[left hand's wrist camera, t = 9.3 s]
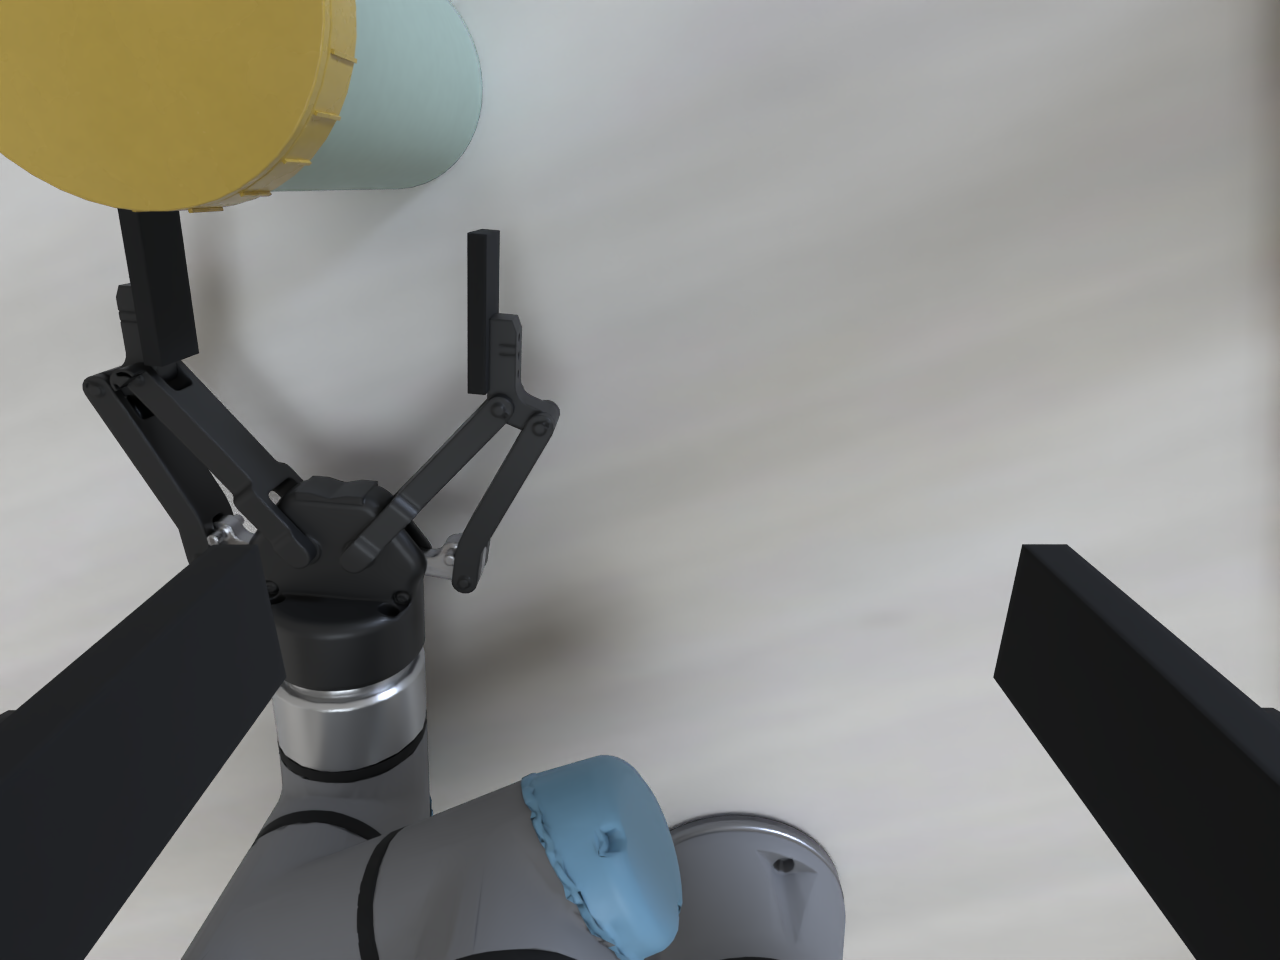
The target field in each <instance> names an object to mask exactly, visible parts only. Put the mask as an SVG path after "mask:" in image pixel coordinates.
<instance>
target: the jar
mask: <svg viewBox="0 0 1280 960" xmlns="http://www.w3.org/2000/svg"><path fill="white" fill-rule="evenodd" d="M355 2H356V31H357V38H356V48H355V58H356V59H357V64H356V63H354V66H353V71H352V75H351V80H350V84H349V88H348V93H347V95H346V98H345V101H344V103H343V106H342V109H341V111H340V114H339V116H340V117H341V119H340V121H338V120H337V121H336V123H335V124H334V126H333V128H332V130H331V132H330V134H329V135H328V137H327V139H326V141H325V142H324V143H323V145H322V146H321V147H320V149H319V150H318V151H317V153H316V154H315V155H314V157H313V158H312V159H311V160H310V161H311V163H312V164H311V165H310V166H304V167H303V168H302V169H301V170H300V171H299V172H298V173H297V174H296V175H295V176H293V177H292V178H290V179H289V180H288V181H286V182H285V183H283V184H282V185H280V186H279V187H278V188H276V189H274V190H272V191H319V190H368V189H403V188H410V187H415V186H418V185H421V184H425V183H427V182H429V181H431V180H433V179H435V178H437V177H438V176H440V175H441V174H443V173H444V172H446V171H447V170H448V169H449V168H450V167H451V166H452V165H453V164H455V163H456V161H457V160H458V159H459V158H460V156H461V155H462V154H463V153H464V151H465V149H466V148H467V146H468V145H469V143H470V141H471V139H472V136H473V134H474V132H475V130H476V126H477V123H478V120H479V116H480V110H481V104H482V76H481V69H480V64H479V58H478V55H477V52H476V48H475V45H474V42H473V40H472V38H471V35H470V33H469V31H468V28H467V27H466V25H465V23H464V21H463V20H462V18H461V16H460V15H459V13H458V12H457V11H456V9H455V8H454V7H453V5H452V4H451V3H450V1H449V0H355Z"/></svg>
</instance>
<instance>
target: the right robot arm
mask: <svg viewBox="0 0 1280 960" xmlns="http://www.w3.org/2000/svg"><path fill="white" fill-rule="evenodd" d="M118 213H119V219H120V225H121V231H122V237H123V243H124V249H125V254H126V260H127V266H128V272H129V278H130V283H128V284H123V285H119V286H118V291H117V295H116V300H117V305H118V310H119V317H120V320H121V328H122V333H123V339H124V345H125V350H126V359H125V362H124V364H123V365H122V366H119V367H116V368H113V369H110V370H107V371H104V372H102V373H99V374H96V375H93V376H90V377H88V378H86V379H85V380H84V382H83V391H84V393H85V395H86V396H87V398H88V399H89V401H90V402H91V404H92V405H93V406H94V408H95V409H96V411H97V412H98V414H99V415H100V417H101V418H102V419H103V421H104V422H105V424H106V425H107V427H108V428H109V430H110V431H111V432H112V434H113V435H114V437H115V438H116V440H117V441H118V442H119V444H120V445H121V447H122V448H123V450H124V451H125V453H126V454H127V455H128V457H129V458H130V460H131V461H132V463H133V464H134V465H135V467H136V468H137V470H138V471H139V473H140V474H141V476H142V477H143V478H144V480H145V481H146V483H147V484H148V486H149V487H150V489H151V490H152V491H153V493H154V494H155V496H156V497H157V499H158V500H159V501H160V503H161V504H162V506H163V507H164V509H165V510H166V512H167V513H168V514H169V516H170V517H171V519H172V520H173V522H174V523H175V524H176V526H177V527H178V529H179V532H180V536H181V539H182V543H183V546H184V549H185V553H186V556H187V560H188V562H189V564H190V563H192V562H193V561H194V560H195V559H196V558H198V557H199V556H200V555H201V554H202V553H203V552H205V551H206V550H207V549H208V548H209V547H211V546H212V545H213V544H258V548H259V553H260V558H261V562H262V567H263V571H264V576H265V580H266V585H267V590H268V594H269V599H270V603H271V608H272V613H273V617H274V622H275V626H276V631H277V635H278V640H279V645H280V649H281V654H282V658H283V663H284V668H285V672H286V679H285V680H284V682H283V683H282V684H281V686H280V687H279V689H278V690H277V691H276V693H275V694H274V696H273V697H272V703H273V710H274V716H275V723H276V730H277V737H278V746H279V754H280V764H281V774H282V784H283V786H282V792H281V796H280V799H279V801H278V803H277V805H276V806H275V808H274V809H273V811H272V813H271V814H270V816H269V818H268V819H267V821H266V823H265V824H264V826H263V827H262V829H261V831H260V833H259V834H258V836H257V838H256V839H255V842H254V843H253V845H252V846H251V848H250V849H249V851H248V852H247V854H246V856H245V857H244V859H243V860H242V862H241V864H240V865H239V867H238V868H237V870H236V872H235V873H234V875H233V876H232V878H231V880H230V881H229V883H228V885H227V886H226V888H225V889H224V891H223V893H222V894H221V896H220V897H219V899H218V901H217V902H216V904H215V905H214V907H213V909H212V910H211V912H210V913H209V915H208V917H207V918H206V920H205V922H204V923H203V925H202V926H201V928H200V930H199V931H198V933H197V934H196V936H195V938H194V939H193V941H192V942H191V944H190V946H189V947H188V949H187V951H186V952H185V954H184V955H183V957H182V959H181V960H842V959H843V946H844V933H845V906H844V897H843V892H842V889H841V885H840V881H839V878H838V874H837V871H836V868H835V866H834V864H833V862H832V860H831V859H830V857H829V856H828V854H827V853H826V852H825V850H824V849H823V848H822V847H821V846H820V845H819V844H818V843H816V842H815V841H814V840H813V839H812V838H810V837H809V836H807V835H806V834H804V833H803V832H801V831H799V830H797V829H795V828H793V827H791V826H788V825H786V824H783V823H780V822H777V821H774V820H770V819H766V818H760V817H754V816H737V815H731V816H718V817H711V818H706V819H701V820H697V821H694V822H691V823H688V824H685V825H682V826H680V827H677V828H675V829H673V830H671V831H669V828H668V825H667V822H666V820H665V817H664V815H663V813H662V810H661V808H660V806H659V804H658V802H657V799H656V798H655V796H654V794H653V793H652V791H651V790H650V788H649V786H648V785H647V784H646V782H645V781H644V780H643V778H642V777H641V776H640V774H639V773H638V772H637V771H636V769H635V768H634V767H632V766H631V765H630V764H629V763H627V762H626V761H624V760H622V759H620V758H618V757H614V756H609V755H600V756H596V757H592V758H589V759H585V760H582V761H578V762H575V763H571V764H568V765H564V766H561V767H557V768H554V769H550V770H547V771H543V772H540V773H531V774H529V775H527V776H525V777H523V778H522V780H521V781H518V782H516V783H513V784H511V785H508V786H506V787H503V788H501V789H498V790H496V791H493V792H491V793H488V794H486V795H483V796H481V797H478V798H476V799H473V800H471V801H468V802H466V803H463V804H461V805H458V806H456V807H453V808H451V809H448V810H446V811H443V812H441V813H438V814H436V815H433V810H432V808H431V802H432V800H431V797H430V791H429V764H428V738H427V710H426V672H425V650H424V648H423V645H424V641H425V619H424V585H423V577H424V575H428V576H433V577H439V578H444V579H450V580H452V585H453V587H454V589H456V590H457V591H458V592H461V593H470V592H472V591H473V590H474V589H475V588H476V586H477V584H478V581H479V579H480V577H481V575H482V572H483V570H484V567H485V565H486V563H487V559H488V552H489V545H490V538H491V537H492V535H493V533H494V532H495V530H496V528H497V527H498V525H499V523H500V521H501V520H502V518H503V516H504V515H505V513H506V511H507V510H508V508H509V506H510V505H511V503H512V501H513V500H514V498H515V496H516V495H517V493H518V491H519V490H520V488H521V486H522V485H523V483H524V481H525V480H526V478H527V476H528V475H529V473H530V471H531V470H532V468H533V466H534V465H535V463H536V461H537V460H538V458H539V456H540V455H541V453H542V451H543V449H544V448H545V446H546V444H547V443H548V441H549V439H550V438H551V436H552V434H553V431H554V429H555V427H556V424H557V421H558V419H559V416H560V410H559V408H558V406H557V405H556V404H555V403H554V402H553V401H550V400H540V399H538V398H536V397H533V396H531V395H530V394H528V393H527V392H526V391H525V390H524V388H523V385H522V384H521V344H522V341H521V340H522V326H521V323H520V320H519V317H518V315H512V314H501V313H499V246H500V231H499V230H488V229H480V230H476V231H473V232H469V233H467V257H468V393H469V394H480V395H486V394H487V399H486V401H485V402H484V403H483V404H482V405H481V406H480V407H479V408H478V409H477V410H476V411H475V412H474V413H473V414H472V415H471V416H470V417H469V418H468V419H467V420H466V421H465V422H464V423H463V424H462V426H461V427H460V428H459V429H458V430H457V431H456V432H455V433H454V434H453V435H452V436H451V437H450V438H449V439H448V440H447V441H446V442H445V443H444V444H443V445H442V446H441V447H440V448H439V449H438V451H437V452H436V453H435V454H434V455H433V456H432V457H431V458H430V459H429V460H428V461H427V462H426V463H425V464H424V465H423V466H422V467H421V468H420V469H419V470H418V471H417V472H416V473H415V474H414V475H413V476H412V477H411V478H410V479H409V480H408V481H407V482H406V483H405V484H404V485H403V486H402V487H401V489H400V490H399V491H398V492H397V493H396V494H395V495H394V496H393V495H392V494H391V493H390V492H388V491H387V490H386V489H384V488H382V487H380V486H378V481H370V480H358V481H352V482H343V481H339V480H336V479H333V478H330V477H322V476H312V477H311V478H310V479H309V480H306V481H303V480H302V479H301V478H300V477H299V476H298V475H297V474H296V473H295V471H294V470H293V469H292V468H291V467H290V466H288V465H287V464H285V463H280V462H278V461H276V460H275V459H274V458H273V457H272V456H271V455H270V454H269V453H268V452H267V451H266V450H265V448H264V447H263V446H262V445H261V444H260V443H259V442H258V441H257V440H256V439H255V438H254V437H253V436H252V435H251V434H250V433H249V432H248V431H247V429H246V428H245V427H244V426H243V425H242V424H241V423H240V422H239V421H238V420H237V419H236V418H235V417H234V416H233V415H232V414H231V413H230V412H229V410H228V409H227V408H226V407H225V406H224V405H223V404H222V403H221V402H220V401H219V400H218V399H217V398H216V397H215V396H214V395H213V394H212V393H211V391H210V390H209V389H208V388H207V387H206V386H205V385H204V384H203V383H202V382H201V381H200V380H199V379H198V378H197V377H196V376H195V375H194V374H193V372H192V371H191V370H190V369H189V368H188V367H187V366H186V365H185V364H184V363H183V362H182V361H181V360H182V359H185V358H187V357H190V356H193V355H195V354H198V353H199V350H198V343H197V336H196V329H195V322H194V314H193V307H192V300H191V293H190V286H189V279H188V272H187V265H186V258H185V251H184V243H183V236H182V229H181V222H180V215H179V211H148V212H133V211H132V210H128V209H121V208H118ZM505 424H509V425H511V426H513V427H516V428H518V429H520V430H521V432H520V434H519V436H518V437H517V439H516V441H515V443H514V444H513V446H512V448H511V449H510V451H509V453H508V455H507V456H506V458H505V460H504V462H503V463H502V465H501V467H500V468H499V470H498V472H497V474H496V475H495V477H494V479H493V481H492V482H491V484H490V486H489V487H488V489H487V491H486V493H485V494H484V496H483V498H482V500H481V501H480V503H479V505H478V506H477V508H476V510H475V512H474V513H473V515H472V517H471V519H470V521H469V523H468V525H467V527H466V528H465V530H464V532H463V533H459V534H454V535H451V536H449V538H448V539H447V540H446V542H445V544H444V546H443V547H441V548H439V549H432V547H431V544H430V543H429V541H428V540H427V538H426V537H425V536H424V535H423V533H422V532H421V531H420V529H419V528H418V527H417V526H416V524H415V523H414V522H413V521H412V519H413V518H414V517H415V516H416V515H417V514H418V513H419V511H420V510H421V509H422V508H423V507H424V506H425V505H426V504H427V503H428V502H429V501H430V500H431V499H432V498H433V497H434V496H435V495H436V494H437V493H438V492H439V491H440V490H441V489H442V488H443V487H444V486H445V485H446V484H447V483H448V482H449V481H450V480H451V479H452V478H453V477H454V476H455V475H456V474H457V473H458V472H459V471H460V470H461V469H462V468H463V466H464V465H465V464H466V463H467V462H468V461H469V460H470V459H471V458H472V457H473V456H474V455H475V454H476V453H477V452H478V451H479V450H480V449H481V448H482V447H483V446H484V445H485V444H486V443H487V442H488V441H489V440H490V439H491V438H492V437H493V436H494V435H495V434H496V433H497V432H498V431H499V430H500V429H501V428H502V427H503V426H504V425H505ZM208 469H209V470H210V471H211V472H212V473H213V474H214V475H215V476H216V477H217V478H218V479H219V481H220V482H221V483H222V484H223V485H224V486H225V487H226V488H227V489H228V490H229V491H230V492H231V493H232V494H233V496H234V499H233V502H234V505H235V506H236V508H237V509H238V510H239V511H240V512H241V513H242V514H243V515H244V516H245V517H246V518H247V519H248V520H249V521H250V522H251V523H252V524H253V525H254V526H255V527H256V528H257V529H258V530H257V531H256V533H255V534H253V533H251V532H249V531H247V530H246V529H245V528H244V526H243V523H244V518H243V517H242V516H241V515H239V514H235V515H233V512H232V509H231V506H230V504H229V502H228V500H227V498H226V496H225V494H224V493H223V491H222V489H221V488H220V486H219V485H218V483H217V482H216V480H215V479H214V477H213V476H212V474H211V473H210V471H209V470H208ZM270 491H275V492H276V493H277V494H278V495H279V496H280V497H281V499H280V500H279V502H278V503H277V504H276V505H275V504H274V503H273V502H272V501H271V500H270V498H269V495H268V494H269V492H270Z"/></svg>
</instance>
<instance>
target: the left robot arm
mask: <svg viewBox="0 0 1280 960" xmlns="http://www.w3.org/2000/svg"><path fill="white" fill-rule="evenodd" d="M285 679H286V672H285V668H284V663H283V658H282V654H281V649H280V645H279V640H278V635H277V631H276V626H275V622H274V617H273V613H272V608H271V603H270V599H269V594H268V590H267V585H266V580H265V576H264V571H263V567H262V562H261V558H260V553H259V548H258V544H213V545H212V546H211V547H209V548H208V549H207V550H206V551H205V552H203V553H202V554H201V555H200V556H199V557H198V558H196V559H195V560H194V561H193V562H192V563H190V564H189V565H188V566H187V567H186V568H184V569H183V570H182V571H181V572H180V573H179V574H177V575H176V576H175V577H174V578H173V579H171V580H170V581H169V582H168V583H167V584H165V585H164V586H163V587H162V588H161V589H160V590H158V591H157V592H156V593H155V594H154V595H152V596H151V597H150V598H149V599H148V600H146V601H145V602H144V603H143V604H142V605H140V606H139V607H138V608H137V609H136V610H135V611H133V612H132V613H131V614H130V615H129V616H127V617H126V618H125V619H124V620H123V621H121V622H120V623H119V624H118V625H117V626H116V627H114V628H113V629H112V630H111V631H110V632H108V633H107V634H106V635H105V636H104V637H102V638H101V639H100V640H99V641H98V642H96V643H95V644H94V645H93V646H92V647H91V648H89V649H88V650H87V651H86V652H85V653H83V654H82V655H81V656H80V657H79V658H77V659H76V660H75V661H74V662H73V663H72V664H70V665H69V666H68V667H67V668H66V669H64V670H63V671H62V672H61V673H60V674H58V675H57V676H56V677H55V678H54V679H53V680H51V681H50V682H49V683H48V684H47V685H45V686H44V687H43V688H42V689H41V690H39V691H38V692H37V693H36V694H35V695H33V696H32V697H31V698H30V699H29V700H28V701H26V702H25V703H24V704H23V705H22V706H20V707H19V708H18V709H17V710H8V711H6V712H4V713H3V714H1V715H0V960H84V959H85V957H86V956H87V955H88V953H89V952H90V950H91V949H92V948H93V946H94V945H95V943H96V942H97V941H98V939H99V938H100V936H101V935H102V934H103V932H104V931H105V929H106V928H107V927H108V925H109V924H110V923H111V921H112V920H113V918H114V917H115V916H116V914H117V913H118V911H119V910H120V909H121V907H122V906H123V904H124V903H125V902H126V900H127V899H128V897H129V896H130V895H131V893H132V892H133V890H134V889H135V888H136V886H137V885H138V884H139V882H140V881H141V879H142V878H143V877H144V875H145V874H146V872H147V871H148V870H149V868H150V867H151V865H152V864H153V863H154V861H155V860H156V858H157V857H158V856H159V854H160V853H161V852H162V850H163V849H164V847H165V846H166V845H167V843H168V842H169V840H170V839H171V838H172V836H173V835H174V833H175V832H176V831H177V829H178V828H179V826H180V825H181V824H182V822H183V821H184V819H185V818H186V817H187V815H188V814H189V813H190V811H191V810H192V808H193V807H194V806H195V804H196V803H197V801H198V800H199V799H200V797H201V796H202V794H203V793H204V792H205V790H206V789H207V787H208V786H209V785H210V783H211V782H212V780H213V779H214V778H215V776H216V775H217V774H218V772H219V771H220V769H221V768H222V767H223V765H224V764H225V762H226V761H227V760H228V758H229V757H230V755H231V754H232V753H233V751H234V750H235V748H236V747H237V746H238V744H239V743H240V742H241V740H242V739H243V737H244V736H245V735H246V733H247V732H248V730H249V729H250V728H251V726H252V725H253V723H254V722H255V721H256V719H257V718H258V716H259V715H260V714H261V712H262V711H263V709H264V708H265V707H266V705H267V704H268V703H269V701H270V700H271V698H272V697H273V696H274V694H275V693H276V691H277V690H278V689H279V687H280V686H281V684H282V683H283V682H284V680H285ZM994 679H995V680H996V682H997V683H998V684H999V686H1000V687H1001V689H1002V690H1003V691H1004V693H1005V694H1006V696H1007V697H1008V698H1009V700H1010V701H1011V703H1012V704H1013V705H1014V707H1015V708H1016V709H1017V711H1018V712H1019V714H1020V715H1021V716H1022V718H1023V719H1024V721H1025V722H1026V723H1027V725H1028V726H1029V728H1030V729H1031V730H1032V732H1033V733H1034V735H1035V736H1036V737H1037V739H1038V740H1039V742H1040V743H1041V744H1042V746H1043V747H1044V748H1045V750H1046V751H1047V753H1048V754H1049V755H1050V757H1051V758H1052V760H1053V761H1054V762H1055V764H1056V765H1057V767H1058V768H1059V769H1060V771H1061V772H1062V774H1063V775H1064V776H1065V778H1066V779H1067V781H1068V782H1069V783H1070V785H1071V786H1072V787H1073V789H1074V790H1075V792H1076V793H1077V794H1078V796H1079V797H1080V799H1081V800H1082V801H1083V803H1084V804H1085V806H1086V807H1087V808H1088V810H1089V811H1090V813H1091V814H1092V815H1093V817H1094V818H1095V819H1096V821H1097V822H1098V824H1099V825H1100V826H1101V828H1102V829H1103V831H1104V832H1105V833H1106V835H1107V836H1108V838H1109V839H1110V840H1111V842H1112V843H1113V845H1114V846H1115V847H1116V849H1117V850H1118V852H1119V853H1120V854H1121V856H1122V857H1123V858H1124V860H1125V861H1126V863H1127V864H1128V865H1129V867H1130V868H1131V870H1132V871H1133V872H1134V874H1135V875H1136V877H1137V878H1138V879H1139V881H1140V882H1141V884H1142V885H1143V886H1144V888H1145V889H1146V890H1147V892H1148V893H1149V895H1150V896H1151V897H1152V899H1153V900H1154V902H1155V903H1156V904H1157V906H1158V907H1159V909H1160V910H1161V911H1162V913H1163V914H1164V916H1165V917H1166V918H1167V920H1168V921H1169V923H1170V924H1171V925H1172V927H1173V928H1174V929H1175V931H1176V932H1177V934H1178V935H1179V936H1180V938H1181V939H1182V941H1183V942H1184V943H1185V945H1186V946H1187V948H1188V949H1189V950H1190V952H1191V953H1192V955H1193V956H1194V957H1195V959H1196V960H1280V712H1279V711H1278V710H1276V709H1274V708H1261V707H1260V706H1258V705H1257V704H1256V703H1255V702H1254V701H1252V700H1251V699H1250V698H1249V697H1248V696H1247V695H1245V694H1244V693H1243V692H1242V691H1241V690H1239V689H1238V688H1237V687H1236V686H1235V685H1233V684H1232V683H1231V682H1230V681H1229V680H1227V679H1226V678H1225V677H1224V676H1223V675H1222V674H1220V673H1219V672H1218V671H1217V670H1216V669H1214V668H1213V667H1212V666H1211V665H1210V664H1208V663H1207V662H1206V661H1205V660H1204V659H1203V658H1201V657H1200V656H1199V655H1198V654H1197V653H1195V652H1194V651H1193V650H1192V649H1191V648H1189V647H1188V646H1187V645H1186V644H1185V643H1184V642H1182V641H1181V640H1180V639H1179V638H1178V637H1176V636H1175V635H1174V634H1173V633H1172V632H1170V631H1169V630H1168V629H1167V628H1166V627H1164V626H1163V625H1162V624H1161V623H1160V622H1159V621H1157V620H1156V619H1155V618H1154V617H1153V616H1151V615H1150V614H1149V613H1148V612H1147V611H1145V610H1144V609H1143V608H1142V607H1141V606H1140V605H1138V604H1137V603H1136V602H1135V601H1134V600H1132V599H1131V598H1130V597H1129V596H1128V595H1126V594H1125V593H1124V592H1123V591H1122V590H1120V589H1119V588H1118V587H1117V586H1116V585H1115V584H1113V583H1112V582H1111V581H1110V580H1109V579H1107V578H1106V577H1105V576H1104V575H1103V574H1101V573H1100V572H1099V571H1098V570H1097V569H1096V568H1094V567H1093V566H1092V565H1091V564H1090V563H1088V562H1087V561H1086V560H1085V559H1084V558H1082V557H1081V556H1080V555H1079V554H1078V553H1077V552H1075V551H1074V550H1073V549H1072V548H1071V547H1069V546H1068V545H1067V544H1022V548H1021V553H1020V557H1019V562H1018V567H1017V571H1016V576H1015V580H1014V585H1013V590H1012V594H1011V599H1010V603H1009V608H1008V613H1007V617H1006V622H1005V626H1004V631H1003V635H1002V640H1001V645H1000V649H999V654H998V658H997V663H996V668H995V672H994Z"/></svg>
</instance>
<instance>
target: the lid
mask: <svg viewBox="0 0 1280 960" xmlns="http://www.w3.org/2000/svg"><path fill="white" fill-rule="evenodd" d="M356 38H357V31H356V2H355V0H0V153H2V154H3V155H4V156H5V157H7V158H8V159H9V160H11V161H12V162H14V163H15V164H17V165H18V166H20V167H21V168H23V169H24V170H26V171H27V172H29V173H30V174H32V175H33V176H35V177H37V178H39V179H41V180H43V181H45V182H47V183H49V184H50V185H52V186H54V187H56V188H58V189H60V190H62V191H65V192H67V193H70V194H72V195H75V196H77V197H80V198H83V199H85V200H88V201H91V202H95V203H99V204H103V205H106V206H110V207H114V208H121V209H128V210H132V211H133V212H148V211H181V210H188V211H189V213H197V212H213V211H223V207H226V206H233V205H237V204H240V203H243V202H246V201H249V200H253V199H256V198H258V197H260V196H270V195H272V194H271V193H270V191H272V190H274V189H276V188H278V187H279V186H280V185H282V184H283V183H285V182H286V181H288V180H289V179H290V178H292V177H293V176H295V175H296V174H297V173H298V172H299V171H300V170H301V169H302V168H303V167H304V166H310V165H311V164H312V163H311V161H310V160H311V159H312V158H313V157H314V155H315V154H316V153H317V151H318V150H319V149H320V147H321V146H322V145H323V143H324V142H325V141H326V139H327V137H328V135H329V134H330V132H331V130H332V128H333V126H334V124H335V123H336V121H337V120H338V121H340V119H341V117H340V116H339V114H340V111H341V109H342V106H343V103H344V101H345V98H346V95H347V93H348V88H349V84H350V80H351V75H352V71H353V66H354V63H356V64H357V59H356V58H355V48H356Z"/></svg>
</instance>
